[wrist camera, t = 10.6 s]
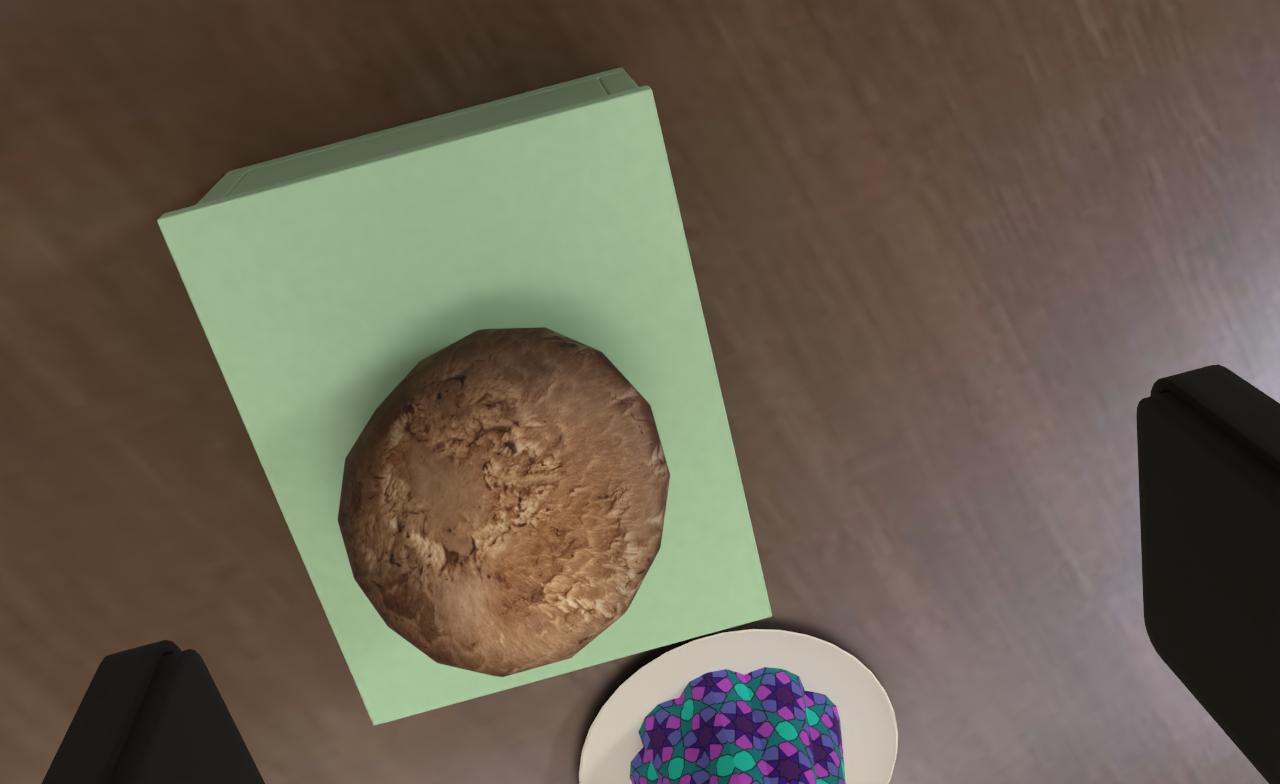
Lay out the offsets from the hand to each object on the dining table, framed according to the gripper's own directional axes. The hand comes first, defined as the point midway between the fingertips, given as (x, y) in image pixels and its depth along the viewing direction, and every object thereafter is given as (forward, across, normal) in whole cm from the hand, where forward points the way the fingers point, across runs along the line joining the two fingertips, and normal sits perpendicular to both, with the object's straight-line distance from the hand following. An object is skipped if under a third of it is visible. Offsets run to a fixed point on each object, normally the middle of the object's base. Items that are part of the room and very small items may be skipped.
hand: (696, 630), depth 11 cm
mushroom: (+17, +3, +6) cm, 18 cm away
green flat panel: (+17, +3, +6) cm, 19 cm away
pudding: (+24, -1, +24) cm, 34 cm away
